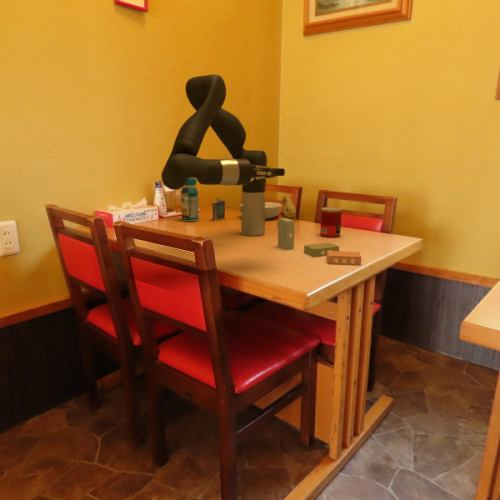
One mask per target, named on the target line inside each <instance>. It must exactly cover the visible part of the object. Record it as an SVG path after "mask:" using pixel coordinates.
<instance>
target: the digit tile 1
mask: <svg viewBox="0 0 500 500" xmlns="http://www.w3.org/2000/svg"><path fill="white" fill-rule="evenodd" d="M295 222H296V221H293V220H290V219H287V218H282V219H279V218H278V220H277V223H278V226H277V247H279V248H281V249H284V250H286V251H287V250H289V251H290V250H295Z"/></svg>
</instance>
